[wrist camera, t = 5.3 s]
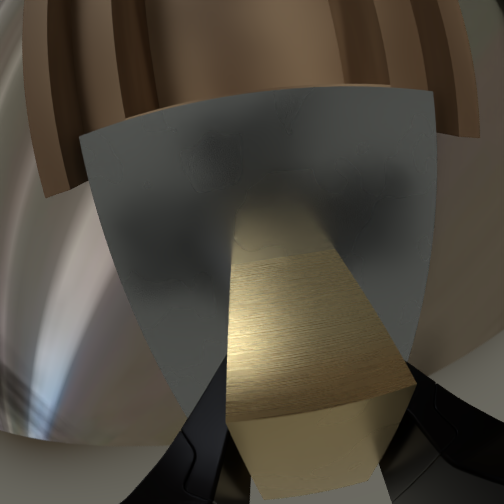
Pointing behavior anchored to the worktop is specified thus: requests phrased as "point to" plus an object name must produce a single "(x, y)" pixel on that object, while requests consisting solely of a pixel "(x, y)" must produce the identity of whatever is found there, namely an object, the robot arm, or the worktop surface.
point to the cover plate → (264, 207)
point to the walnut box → (227, 61)
